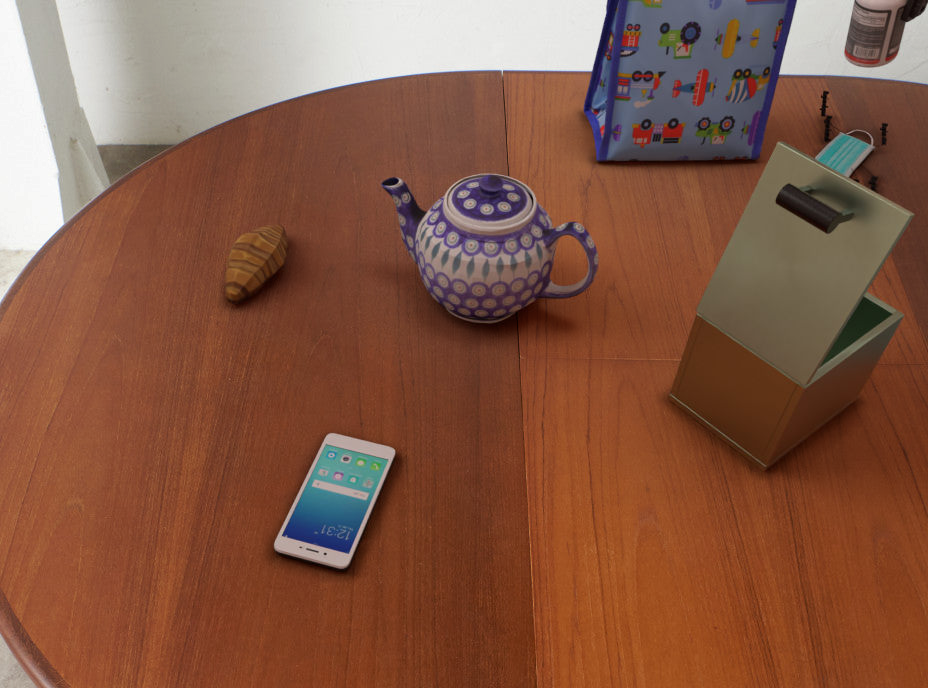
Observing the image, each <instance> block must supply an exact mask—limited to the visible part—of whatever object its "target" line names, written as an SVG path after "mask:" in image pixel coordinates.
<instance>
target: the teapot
mask: <svg viewBox="0 0 928 688" xmlns="http://www.w3.org/2000/svg"><path fill="white" fill-rule="evenodd" d="M380 186H381V187H382V189H383V190H384V191H386V192H387V194H388V195H389V196H390V197H391V199H392V200H393V202H394V204H395V207H396V212H397V218H398V222H399V229H400V234H401V239H402V242H403V244H404V246H405V249H406V250H407V253H408V255H409V256H410V258H411V259H412V260H413V261H414V263H415V264H416V265H417V266H418V271H419V275H420V278H421V280H422V283H423V285H424V287H425V289H426V290H427V292H428V294H429V295H430V296H431V297H432V299H434V300H435V301H436V302H437V303H438V304H439V305H441V306H442V307H444V308H445V309H446V310H447V312H449V314H451V315H453V316H454V317H456V318H458V319H461V320H463V321H467V322H471V323H478V324H494V323H498V322H501V321H504V320H506V319H508V318H510V317H511V316H513V315H514V314H516V312H518V311H520V310H522V309H524V308H526V307H527V306H528V305H530V304H532V303H533V302H535V301H536V300H538V299H550V300H560V299H561V300H563V299H569V298H574V297H577V296H578V295H579V296H580V294H582V293H584V292H585V291H587V289H589V288H590V287H591V285H592V284H593V282H594V281H595V279H596V276H597V273H598V269H599V261H600V259H599V253H598V250H597V246H596V244H595V241H594V239H593V238H592V236H591V234H590V233H589V231H588V230H587V229H586V228H585V226H583V225H582V224H581V223H578V222H577V221H567V222H565V223H562V224H560V225H558V226H556V227H554V225H553V221H552V218H551V216H550V215H549V213H548V211H547V210H546V209H545V208H544V207H543V206H542V205H541V204H540V202H538V201H537V197H536V195H535V193H534V191H533V190H532V189H531V187H529V186H528V185H527V184H526V183H524V182H523V181H520V180H519V179H516V178H513V177H511V176H507V175H503V174H498V173H478V174H473V175H469V176H466V177H463V178H461V179H458V180H457V181H456V182H454V183H453V184H452V185H451V186H450V187H449V188H448V189H447V190H446V192H445V194H444V195H443V196H442V197H440V198H439V199H438V200H437V201H436V202H435V203H434V204H433V205H432V206H431V207H430V208H429V209H428V210H427V211H426V210H423V209H422V208H421V207H420V206H419V204H418V202H417V201H416V199H415V197H414V194H413V192H412V191H411V189H410V188H409V186H408V184H407V183H406V182H405V181H404V180H403V179H402V178H400V177H396V176H395V177H394V176H393V177H389V178H386V179H384V180H383V181H382V182H381V183H380ZM564 236H571V237H573V238H575V240H577V242H579V244H580V246H581V248H582V249H583V251H584V253H585V256H586V259H587V264H588V265H587V267H588V268H587V272H586V275H585V276H584V277H583V278H582V279H581V280H580V281H578V282H577V283H574V284H571V285H570V284H569V285H558V284H555V283H553V281H552V280H551V273H552V271H553V266H554V261H555V254H556V249H557V244H558V242H559V240H560V239H561V238H563V237H564Z"/></svg>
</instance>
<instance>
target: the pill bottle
mask: <svg viewBox="0 0 928 688" xmlns="http://www.w3.org/2000/svg"><path fill="white" fill-rule="evenodd" d="M907 2H908V0H853V6H852V9H851V16H850V21H849V26H848V32H847V35H846V40H845V46H844V51H843V54H844V57H845V60H846V61H847V62H849V63H850V64H852V65H854V66H856V67H860V68H867V69H869V68H870V69H871V68H879V67H884V66H886V65H889V64H890V63H892V62H893V61H894V60H895V59H896V58H897V56H898V55H899V51H900V49H901V48H900V47H901V44H902V39H903V35H904V32H905V27H906V24H907V22H905V21H902V20H901V16H902V14H903V11H904V9H905V7H906V4H907Z"/></svg>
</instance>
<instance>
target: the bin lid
mask: <svg viewBox="0 0 928 688" xmlns="http://www.w3.org/2000/svg"><path fill="white" fill-rule="evenodd" d="M814 158H815V157H813V156H811V155H809V154H807V153H805V152H803V151H802V150H800V149H798V148H796V147H794V146H792V145H791V144H788V143H787V142H785V141H784V140H783V141H781V140H780V141H777V143H776V145H775V147H774V149H773V150H772V153H771V155H770V158H769V159H768V161H767V163H766V165H765V168H764V169H763V171H762V174H761V175H760V177H759V179H758V182H757V183H756V186H755V188H754V190H753V192H752V194H751V196H750V198H749V200H748V202H747V203H746V206H745V208H744V210H743V213H742V214H741V216H740V219H739V221H738V223H737V225H736V226H735V228H734V231H733V233H732V234H731V237H730V239H729V240H728V243H727V245H726V247H725V249H724V251H723V253H722V255H721V257H720V260H718V261H719V262H718V263H717V265H716V268H715V269H714V272H713V274H712V276H711V278H710V279H709V282H708V284H707V285H706V288H705V290H704V292H703V294H702V296H701V298H700V300H699V302H698V304H697V306H696V308H695V312H697V313H700V314H701V315H703V316H704V317H706V318H707V319H709V320H710V321H711V322H713V323H714V324H716V325H717V326H719V327H720V328H722V329H723V330H725V331H726V332H727V333H729V334H730V335H732V336H733V337H735V338H736V339H738V340H739V341H740V342H742V343H743V344H745V345H746V346H748V347H749V348H751V349H752V350H754V351H755V352H756V353H758V354H759V355H761V356H762V357H764V358H765V359H767V360H768V361H770V362H771V363H772V364H774V365H775V366H777V367H778V368H780V369H781V370H783V371H784V372H785V373H787V374H788V375H790V376H791V377H793V378H794V379H796V380H797V381H799V382H800V383H801V384H803V385H804V386H805V385H807V384H809V383H810V381H811V380H812V378H813V376H814V375H815V373H816V372H817V370H818V368H819V367H820V365H821V364H822V362H823V360H824V359H825V357H826V356H827V354H828V352H829V351H830V349H831V348H832V346H833V344H834V343H835V341H836V340H837V338H838V336H839V335H840V333H841V332H842V330H843V328H844V327H845V325H846V324H847V322H848V320H849V319H850V317H851V316H852V314H853V312H854V311H855V309H856V308H857V306H858V304H859V303H860V301H861V300H862V298H863V296H864V295H865V293H866V292H868V290H869V289H870V287H871V286H872V284H873V282H874V280H875V279H876V277H877V276H878V274H879V273H880V271H881V270H882V268H883V266H884V265H885V263H886V261H887V260H888V258H889V256H890V255H891V253H892V251H893V250H894V249H895V248H896V245H897V244H898V242H899V240H900V239H901V238H902V236H903V234H904V232H905V231H906V229H907V228H908V226H909V225H910V223H911V221H912V220H913V218H914V217H915V215H916V214H915V213H913V212H911V211H910V210H908V209H906V208H904V207H903V206H902V205H900V204H897V203H896V202H894V201H892V200H890V199H888V198H887V197H884V196H883V195H881V194H880V193H876V192H877V191H872V190H871V188H869V187H867V186H865V185H863V184H861V183H860V182H859V183H857V182H856V181H854V180H853V179H852V178H851V177H849V178H848V177H847V176H845V175H843V174H841V173H839V172H838V171H836V170H834V169H832V168H830V167H828V166H827V165H825V164H823V163H821V162H819V161H818V160H816V159H814Z"/></svg>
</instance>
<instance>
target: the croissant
mask: <svg viewBox="0 0 928 688" xmlns="http://www.w3.org/2000/svg"><path fill="white" fill-rule="evenodd" d="M288 248H289V242H288V236H287V232H286V229H285V226H283V225H281V224H267V225H263V226H261V227H260V226H259V227H258V228H255V229H253V230H252V231H250V232H245V233H242V234H241V236H239V237H238V238H237V239H236V241H235V242H234V244H233V245H232V246H231V248H230V249H229V253H228V257H227V261H226V265H227V268H226V269H225V271H224V275H223V277H224V292H225V298H226V300H227V302H229V303H230V304H233V305H239V304H240V303H243V302H244V301H246V300H248V299H249V298H251V297H252V296H253V295H255V294H256V293H258V292H259V291H260V290H261V288H262V287H263V286H264V285H265V284H266V283H267V282H269V281H270V280H271V279H272V278H273V277H274V275H276V274H277V273H278V272H279V270H280V269H281V268H282V266H283V265H284V264H285V260H286V258H287V256H288V254H287V249H288Z"/></svg>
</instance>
